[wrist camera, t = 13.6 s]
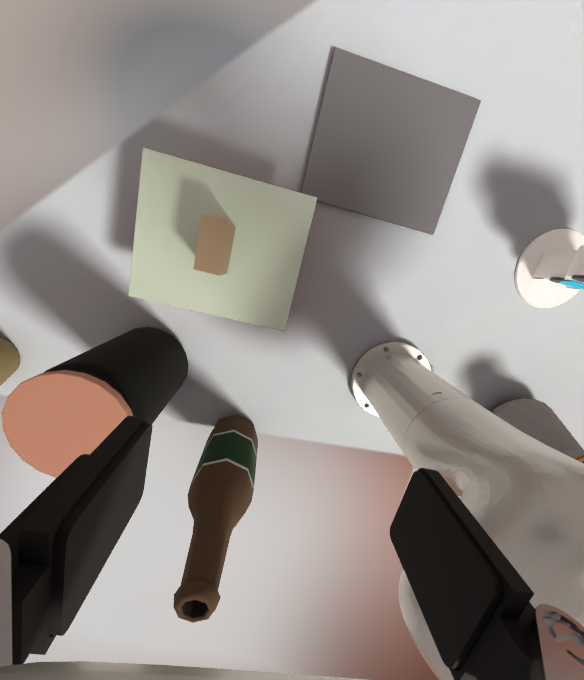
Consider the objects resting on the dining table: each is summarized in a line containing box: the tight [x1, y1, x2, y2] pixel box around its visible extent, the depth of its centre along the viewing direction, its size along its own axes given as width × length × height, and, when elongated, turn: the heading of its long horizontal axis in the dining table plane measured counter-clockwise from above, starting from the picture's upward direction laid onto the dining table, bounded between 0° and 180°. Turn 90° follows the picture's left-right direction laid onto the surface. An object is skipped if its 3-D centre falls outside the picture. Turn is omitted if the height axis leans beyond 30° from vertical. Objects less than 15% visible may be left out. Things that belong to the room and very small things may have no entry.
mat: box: [301, 48, 481, 234], centre depth 36 cm, size 19×16×1 cm
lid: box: [128, 148, 317, 331], centre depth 29 cm, size 18×15×6 cm
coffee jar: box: [2, 327, 188, 478], centre depth 33 cm, size 11×11×18 cm
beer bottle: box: [174, 415, 258, 622], centre depth 34 cm, size 8×8×24 cm
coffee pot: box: [492, 398, 584, 464], centre depth 42 cm, size 21×12×15 cm, turn 166°
